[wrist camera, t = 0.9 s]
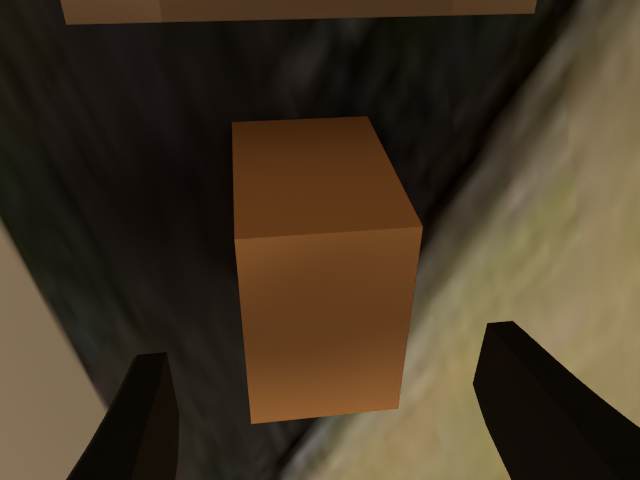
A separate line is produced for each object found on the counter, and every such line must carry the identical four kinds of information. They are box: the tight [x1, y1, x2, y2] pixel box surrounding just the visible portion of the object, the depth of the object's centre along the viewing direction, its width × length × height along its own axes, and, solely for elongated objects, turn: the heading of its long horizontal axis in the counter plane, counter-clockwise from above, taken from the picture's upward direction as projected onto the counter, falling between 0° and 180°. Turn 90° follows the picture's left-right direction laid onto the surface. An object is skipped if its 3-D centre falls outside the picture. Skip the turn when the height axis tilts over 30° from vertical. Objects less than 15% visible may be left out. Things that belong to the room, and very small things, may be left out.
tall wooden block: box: [232, 116, 423, 424], centre depth 16 cm, size 6×4×6 cm, turn 179°
